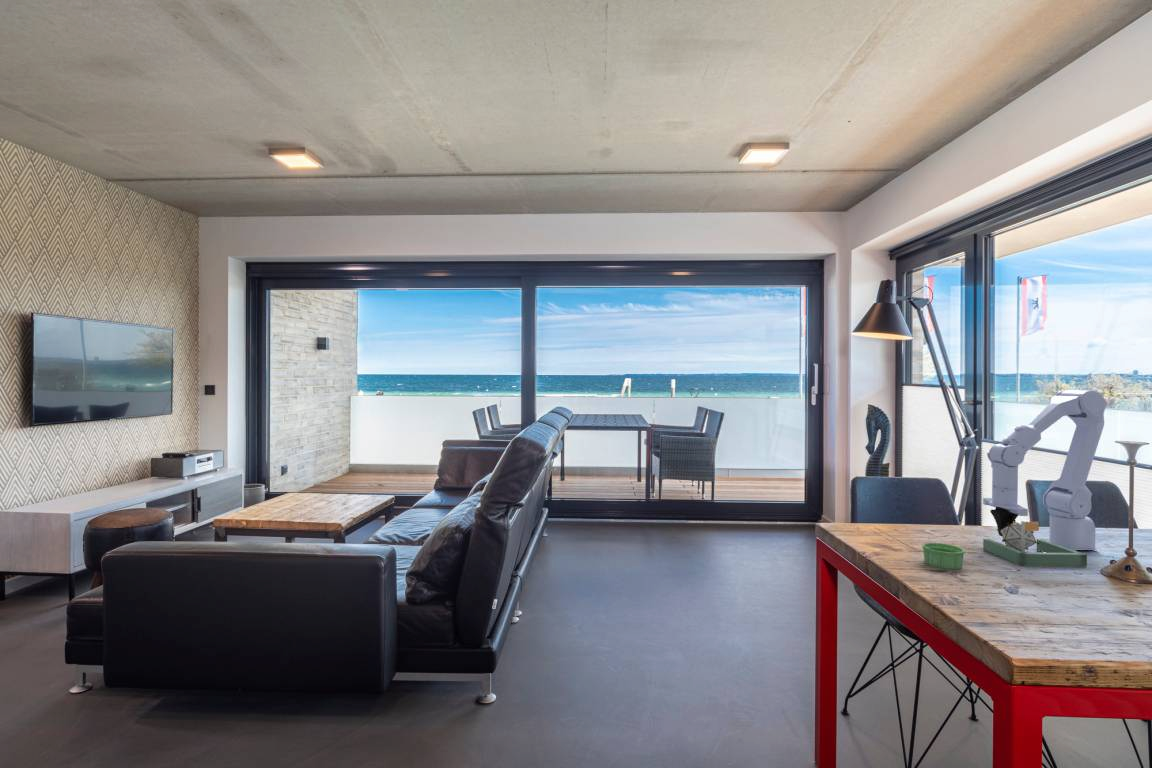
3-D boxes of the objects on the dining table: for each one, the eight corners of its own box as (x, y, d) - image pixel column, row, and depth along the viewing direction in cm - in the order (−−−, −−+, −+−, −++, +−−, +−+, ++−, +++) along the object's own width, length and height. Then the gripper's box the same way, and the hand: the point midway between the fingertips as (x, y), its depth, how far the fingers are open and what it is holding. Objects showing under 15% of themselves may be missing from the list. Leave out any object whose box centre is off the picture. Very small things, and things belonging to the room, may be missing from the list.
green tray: (1042, 550, 157) (1042, 510, 157) (1086, 566, 143) (1087, 522, 143) (983, 549, 158) (983, 509, 158) (1022, 566, 144) (1022, 522, 144)
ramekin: (971, 571, 140) (971, 553, 140) (930, 569, 141) (930, 551, 141) (954, 560, 148) (955, 543, 148) (916, 558, 150) (916, 541, 150)
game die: (1027, 565, 155) (1055, 541, 150) (1000, 556, 154) (1028, 531, 149) (1008, 540, 163) (1034, 516, 158) (982, 531, 162) (1008, 507, 157)
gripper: (972, 482, 168) (972, 528, 168) (1009, 492, 153) (1008, 542, 153) (997, 482, 168) (996, 529, 168) (1036, 492, 153) (1035, 543, 153)
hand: (1004, 535), depth 160 cm, fingers closed, pressing on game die
